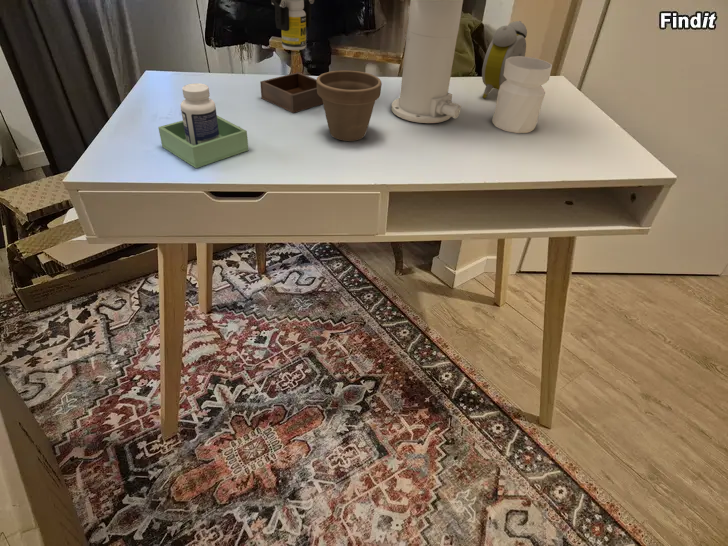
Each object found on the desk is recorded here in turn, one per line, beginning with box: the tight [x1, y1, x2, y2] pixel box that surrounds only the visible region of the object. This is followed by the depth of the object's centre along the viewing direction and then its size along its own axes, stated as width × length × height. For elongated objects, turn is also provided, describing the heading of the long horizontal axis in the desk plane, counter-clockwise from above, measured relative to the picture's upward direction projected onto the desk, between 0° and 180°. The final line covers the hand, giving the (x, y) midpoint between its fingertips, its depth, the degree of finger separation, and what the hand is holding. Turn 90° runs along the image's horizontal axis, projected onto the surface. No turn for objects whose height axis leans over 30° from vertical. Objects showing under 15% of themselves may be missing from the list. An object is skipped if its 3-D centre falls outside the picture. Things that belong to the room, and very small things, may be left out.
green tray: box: [158, 115, 249, 169], centre depth 84 cm, size 10×10×4 cm
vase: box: [491, 56, 553, 134], centre depth 98 cm, size 9×9×12 cm
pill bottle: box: [180, 83, 220, 146], centre depth 81 cm, size 5×5×10 cm
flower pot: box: [316, 69, 382, 142], centre depth 90 cm, size 12×11×10 cm
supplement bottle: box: [281, 0, 307, 51], centre depth 96 cm, size 5×5×8 cm
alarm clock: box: [481, 20, 528, 99], centre depth 110 cm, size 12×7×15 cm, turn 144°
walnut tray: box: [259, 71, 323, 114], centre depth 104 cm, size 10×10×4 cm
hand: (293, 26), depth 96 cm, fingers closed on supplement bottle, 4 cm apart
